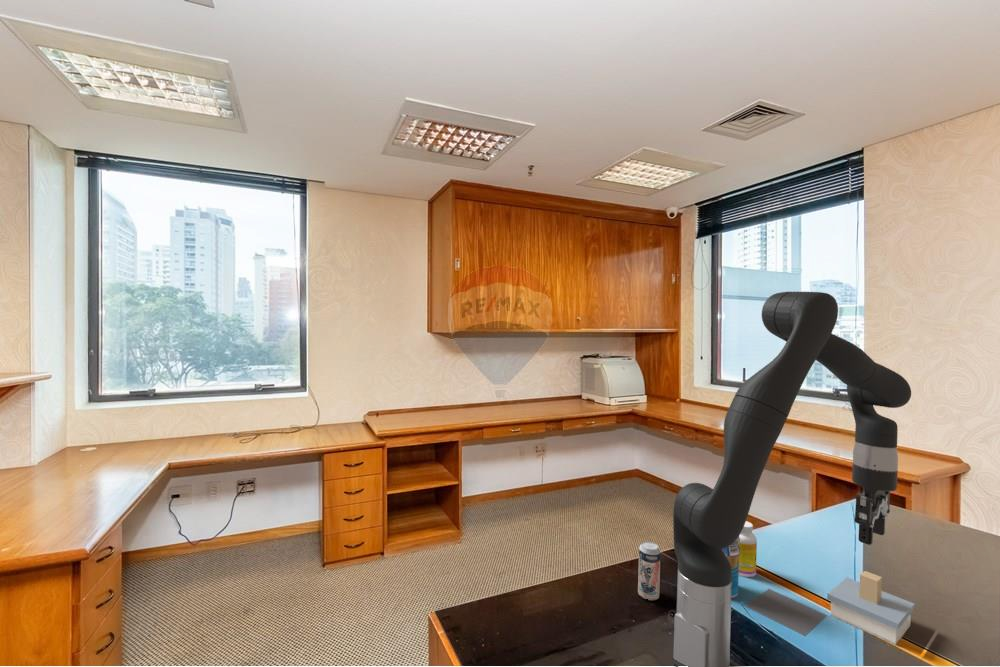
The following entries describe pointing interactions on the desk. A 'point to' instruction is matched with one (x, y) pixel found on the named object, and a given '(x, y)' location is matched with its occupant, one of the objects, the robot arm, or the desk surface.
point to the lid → (871, 600)
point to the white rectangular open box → (869, 623)
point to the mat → (786, 611)
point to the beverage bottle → (733, 564)
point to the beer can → (649, 571)
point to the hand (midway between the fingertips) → (871, 538)
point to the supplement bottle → (747, 551)
